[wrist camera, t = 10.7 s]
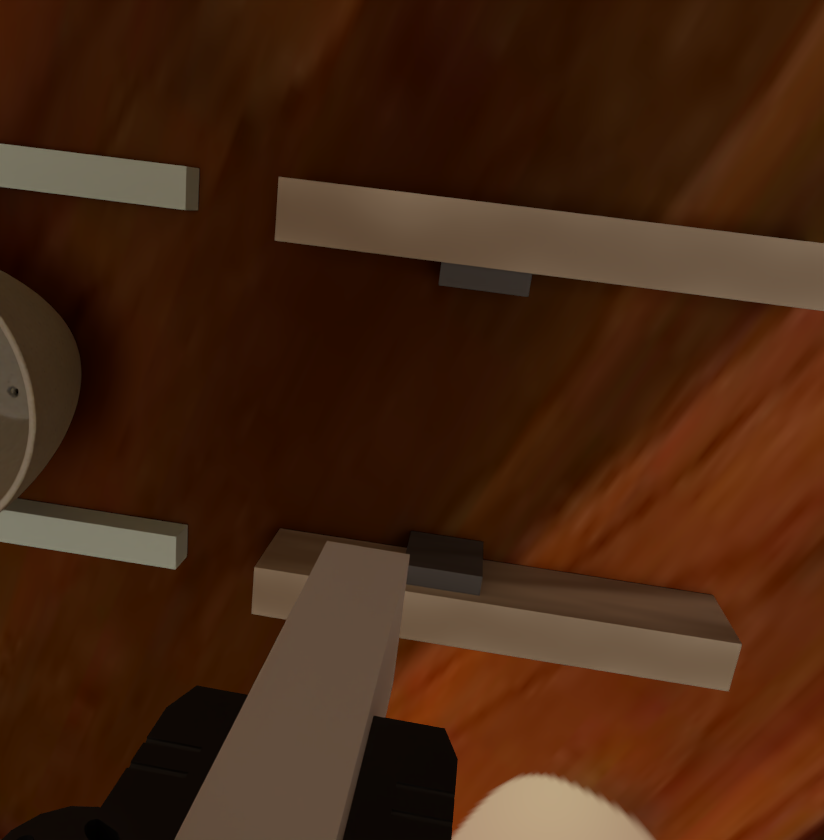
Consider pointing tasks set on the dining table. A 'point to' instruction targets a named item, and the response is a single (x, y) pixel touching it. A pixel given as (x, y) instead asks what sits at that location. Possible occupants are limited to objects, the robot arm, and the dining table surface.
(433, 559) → the twin plank rack
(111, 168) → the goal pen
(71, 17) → the dining table surface
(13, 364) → the flower pot
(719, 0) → the dining table surface
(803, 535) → the dining table surface
